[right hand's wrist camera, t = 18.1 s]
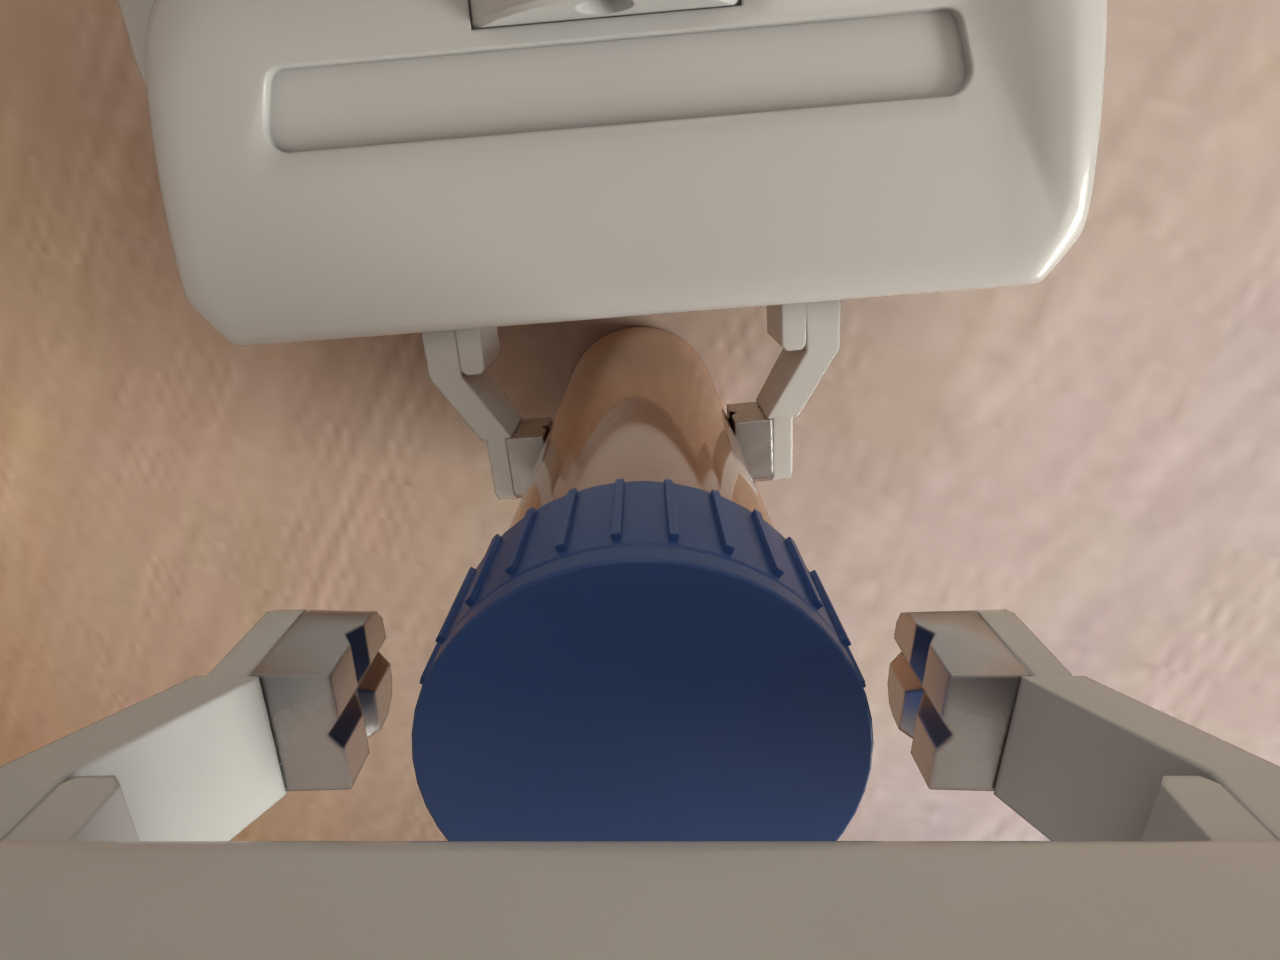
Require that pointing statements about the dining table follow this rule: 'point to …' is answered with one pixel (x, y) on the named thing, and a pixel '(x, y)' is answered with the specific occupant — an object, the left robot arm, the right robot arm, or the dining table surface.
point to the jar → (640, 424)
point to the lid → (642, 681)
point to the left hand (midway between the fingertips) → (645, 482)
